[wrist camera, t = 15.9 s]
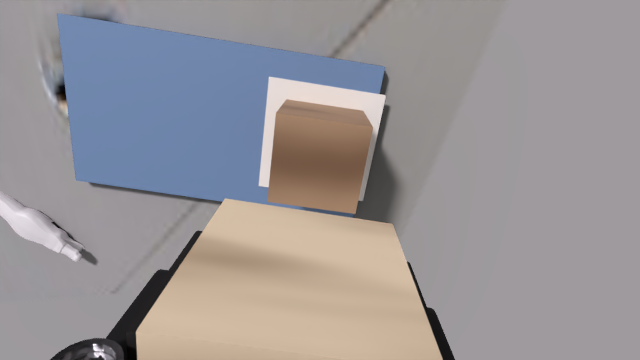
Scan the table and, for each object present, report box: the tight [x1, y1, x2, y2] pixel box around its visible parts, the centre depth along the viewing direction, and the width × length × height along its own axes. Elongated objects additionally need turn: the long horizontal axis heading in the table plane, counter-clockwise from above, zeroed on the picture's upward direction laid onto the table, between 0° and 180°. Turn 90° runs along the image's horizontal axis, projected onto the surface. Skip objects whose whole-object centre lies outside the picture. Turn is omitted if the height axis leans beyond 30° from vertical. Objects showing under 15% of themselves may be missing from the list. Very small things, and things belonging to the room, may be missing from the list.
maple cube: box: [136, 198, 443, 360], centre depth 9 cm, size 5×5×5 cm
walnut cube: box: [267, 99, 373, 214], centre depth 25 cm, size 6×6×6 cm
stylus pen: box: [0, 191, 84, 262], centre depth 31 cm, size 15×3×2 cm, turn 49°
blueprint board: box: [57, 13, 386, 218], centre depth 28 cm, size 24×13×1 cm, turn 81°
